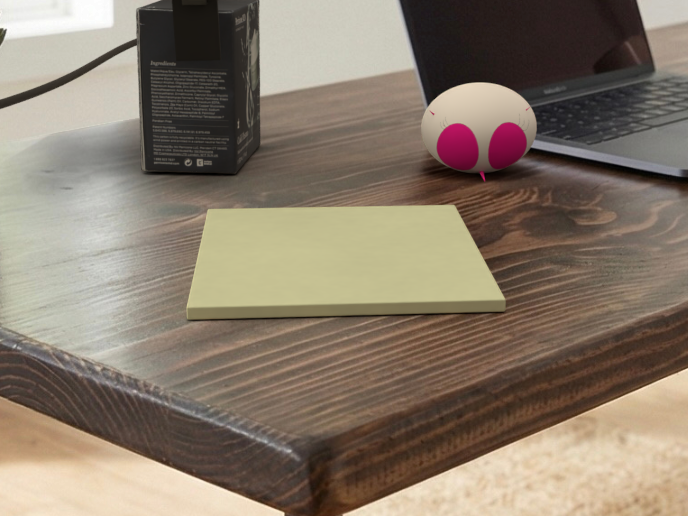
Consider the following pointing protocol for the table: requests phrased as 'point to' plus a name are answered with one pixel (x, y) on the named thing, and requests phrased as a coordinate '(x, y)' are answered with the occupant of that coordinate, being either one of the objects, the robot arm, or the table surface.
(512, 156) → the stress ball
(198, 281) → the mat
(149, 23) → the box
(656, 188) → the table surface
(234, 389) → the table surface
